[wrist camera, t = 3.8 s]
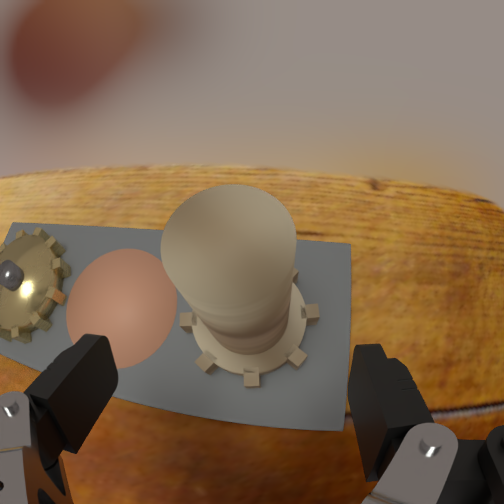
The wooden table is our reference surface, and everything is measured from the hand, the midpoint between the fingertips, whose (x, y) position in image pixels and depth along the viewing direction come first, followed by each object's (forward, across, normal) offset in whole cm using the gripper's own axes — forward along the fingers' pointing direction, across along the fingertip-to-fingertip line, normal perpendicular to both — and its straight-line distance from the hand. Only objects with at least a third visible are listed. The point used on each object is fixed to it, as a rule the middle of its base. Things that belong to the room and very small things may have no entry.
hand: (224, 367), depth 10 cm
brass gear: (+10, +18, +2) cm, 21 cm away
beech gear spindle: (+9, 0, +3) cm, 10 cm away
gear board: (+10, +9, +4) cm, 14 cm away
